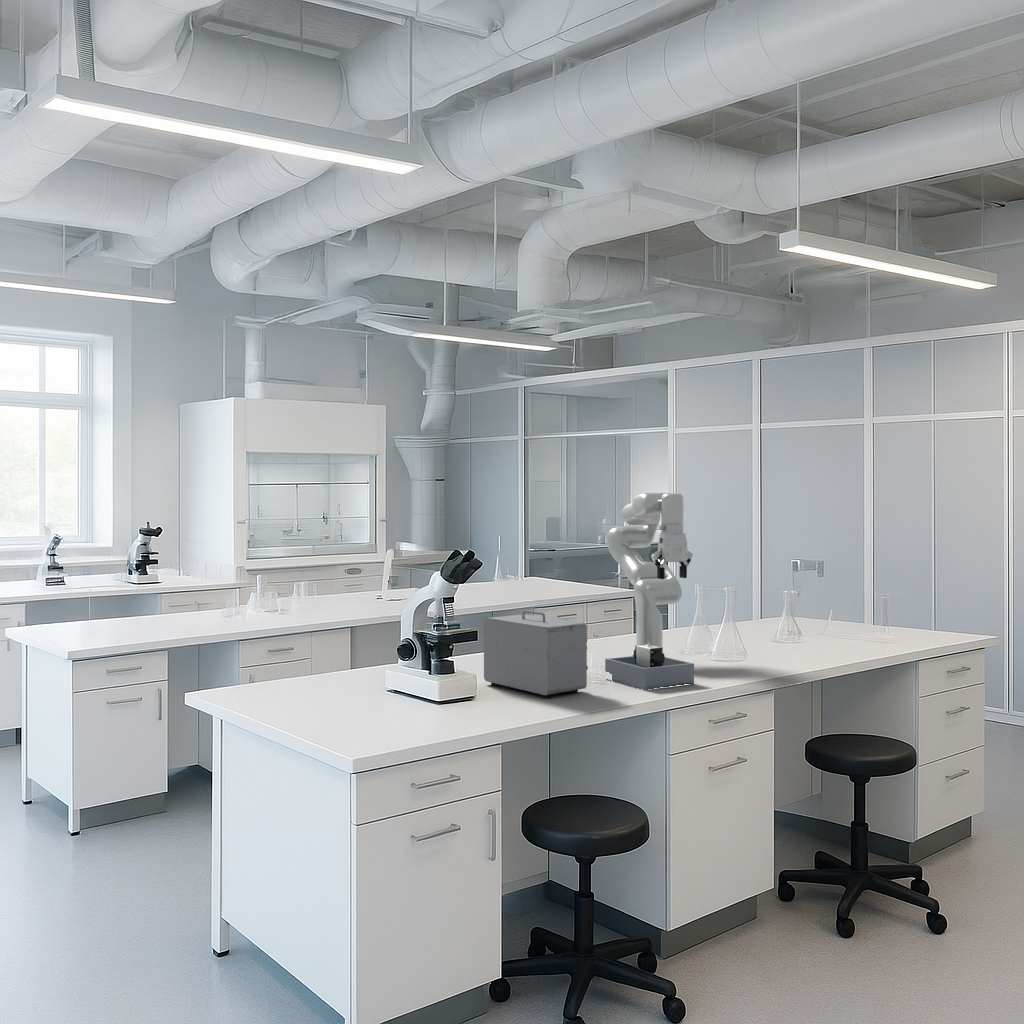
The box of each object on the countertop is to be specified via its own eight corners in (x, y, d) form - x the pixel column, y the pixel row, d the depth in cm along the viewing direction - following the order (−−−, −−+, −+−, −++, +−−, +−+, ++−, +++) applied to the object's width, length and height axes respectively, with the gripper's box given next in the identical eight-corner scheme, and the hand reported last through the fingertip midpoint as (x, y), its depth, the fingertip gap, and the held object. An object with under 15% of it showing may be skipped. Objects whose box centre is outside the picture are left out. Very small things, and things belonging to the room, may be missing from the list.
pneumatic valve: (653, 682, 319) (653, 646, 318) (632, 676, 329) (632, 641, 329) (667, 681, 321) (667, 644, 321) (646, 675, 331) (646, 640, 331)
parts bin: (605, 679, 330) (605, 658, 329) (652, 674, 339) (652, 654, 339) (645, 690, 310) (645, 668, 310) (694, 684, 320) (694, 663, 320)
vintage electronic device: (591, 692, 308) (591, 613, 307) (548, 700, 296) (548, 618, 296) (526, 678, 332) (526, 604, 332) (483, 684, 321) (483, 608, 320)
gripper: (659, 529, 331) (658, 580, 332) (698, 529, 340) (698, 578, 340) (645, 529, 338) (645, 578, 338) (684, 528, 346) (684, 576, 347)
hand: (672, 578), depth 339 cm, fingers open, 9 cm apart
